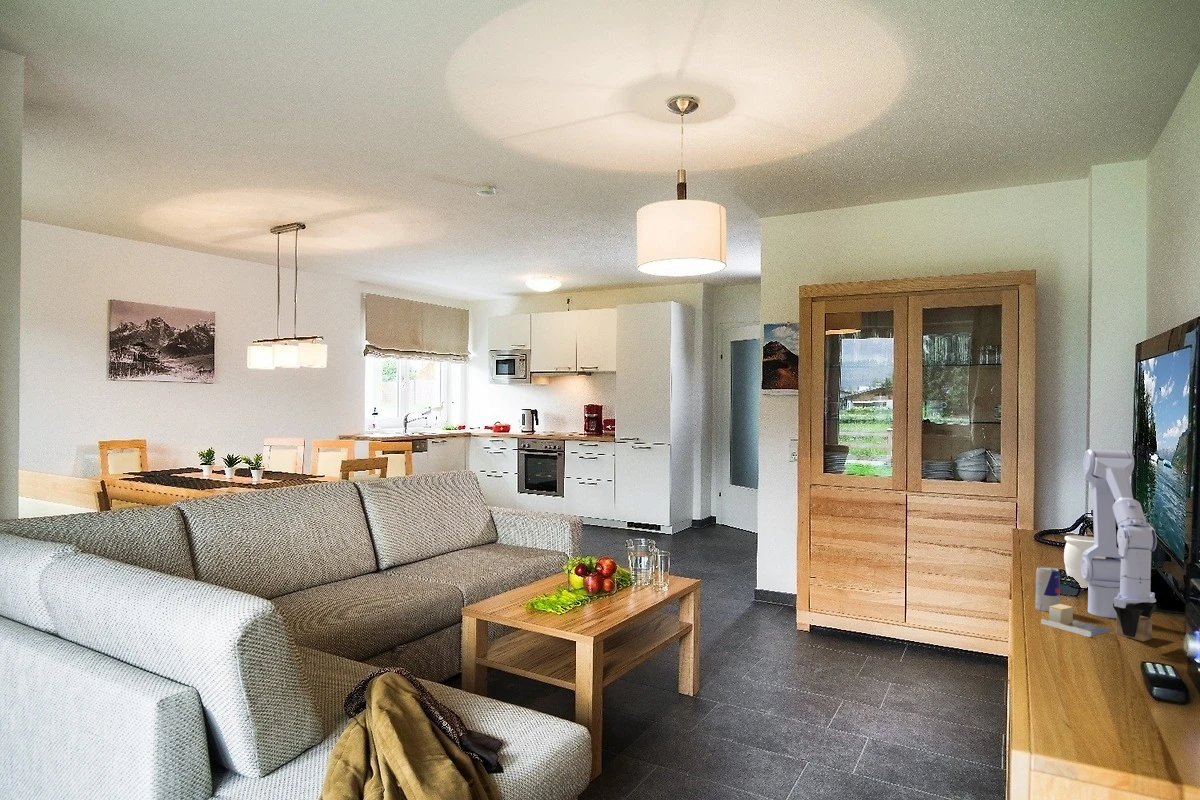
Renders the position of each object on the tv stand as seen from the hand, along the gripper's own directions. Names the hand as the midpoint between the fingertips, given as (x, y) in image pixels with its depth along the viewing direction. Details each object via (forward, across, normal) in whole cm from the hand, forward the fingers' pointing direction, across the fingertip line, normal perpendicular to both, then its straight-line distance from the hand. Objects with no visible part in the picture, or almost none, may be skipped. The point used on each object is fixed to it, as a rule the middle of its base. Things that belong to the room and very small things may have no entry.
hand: (1133, 634), depth 169 cm
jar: (+2, +44, +33) cm, 55 cm away
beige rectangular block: (0, -5, +14) cm, 15 cm away
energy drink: (+2, +4, +22) cm, 22 cm away
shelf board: (+2, -5, +10) cm, 11 cm away
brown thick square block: (+2, 0, 0) cm, 2 cm away
